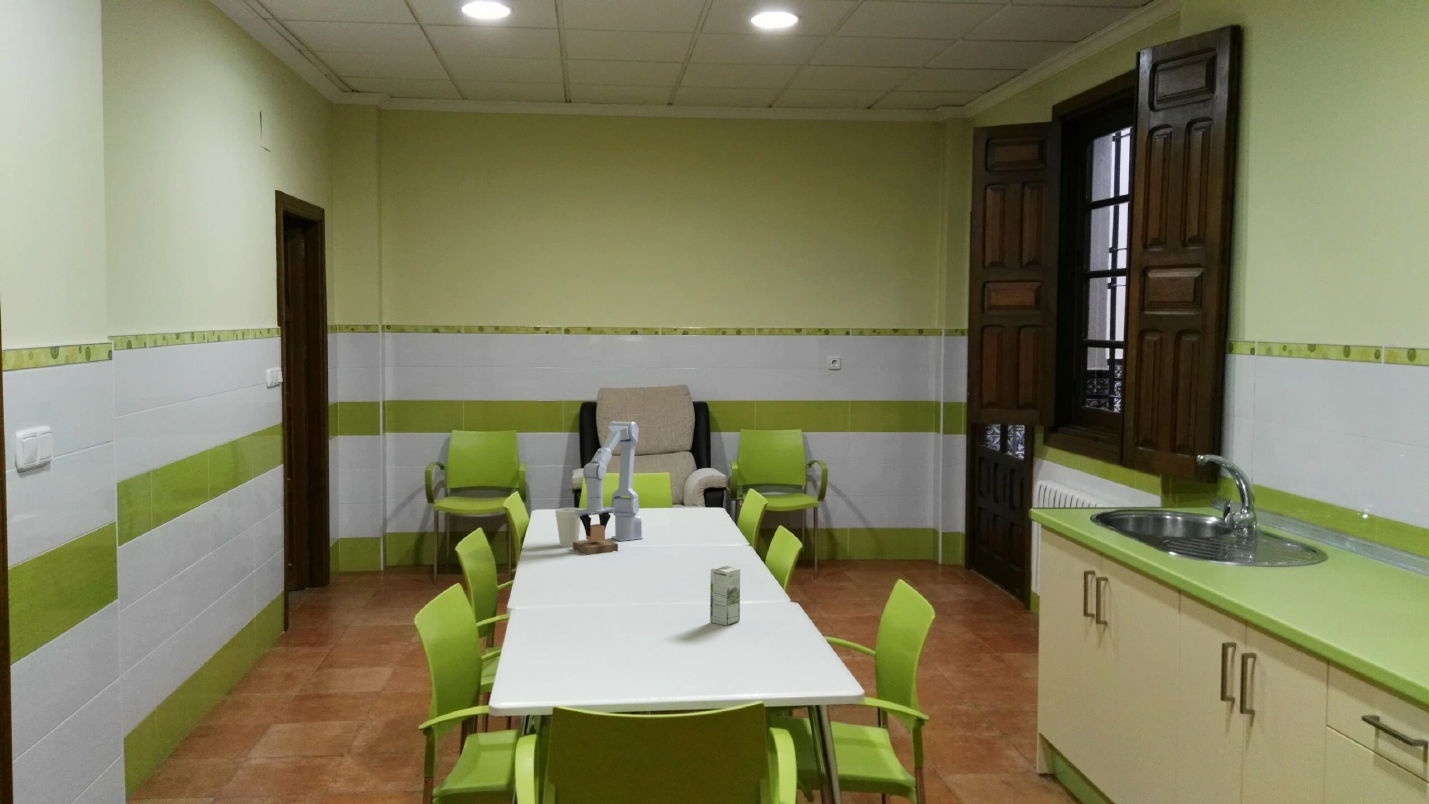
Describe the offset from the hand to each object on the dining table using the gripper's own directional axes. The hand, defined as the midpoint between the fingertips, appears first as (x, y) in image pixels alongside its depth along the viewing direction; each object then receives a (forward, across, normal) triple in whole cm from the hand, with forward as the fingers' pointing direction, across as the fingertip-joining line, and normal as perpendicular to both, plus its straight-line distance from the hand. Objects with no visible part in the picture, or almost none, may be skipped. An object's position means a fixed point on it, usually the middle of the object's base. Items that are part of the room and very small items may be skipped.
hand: (595, 534), depth 375 cm
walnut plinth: (+6, 0, 0) cm, 6 cm away
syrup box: (+6, -10, -105) cm, 106 cm away
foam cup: (+6, -4, +13) cm, 15 cm away
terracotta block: (+2, 0, 0) cm, 2 cm away
